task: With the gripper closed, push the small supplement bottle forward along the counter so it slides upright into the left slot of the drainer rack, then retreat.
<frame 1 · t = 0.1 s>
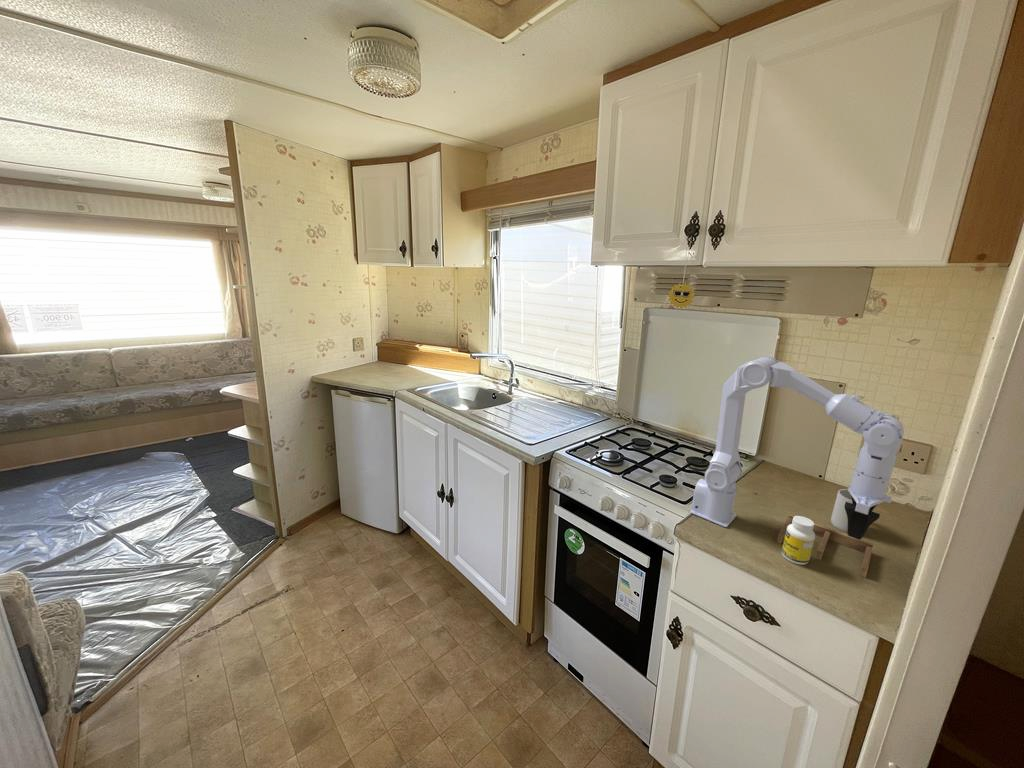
hand: (856, 529, 91), 10 cm above the countertop, fingers open, 7 cm apart
rack: (822, 547, 101), on the countertop
cup: (847, 525, 110), on the countertop
supplement bottle: (794, 558, 97), on the countertop
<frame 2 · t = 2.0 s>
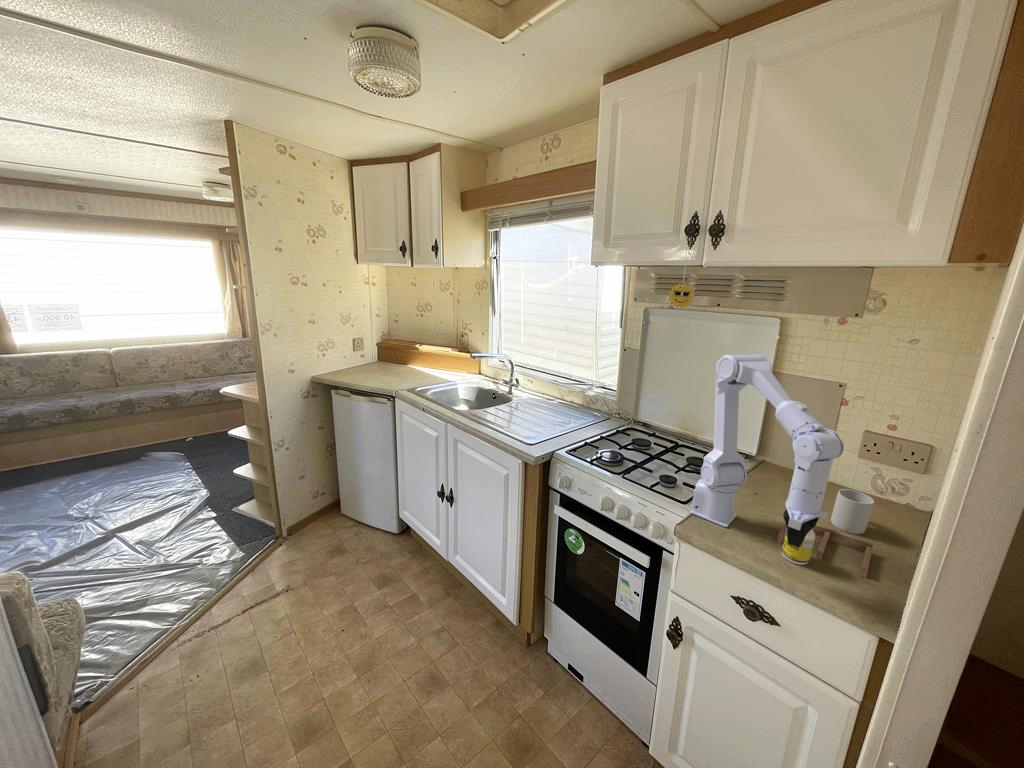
hand: (794, 544, 89), 8 cm above the countertop, fingers closed
nothing on the countertop moved.
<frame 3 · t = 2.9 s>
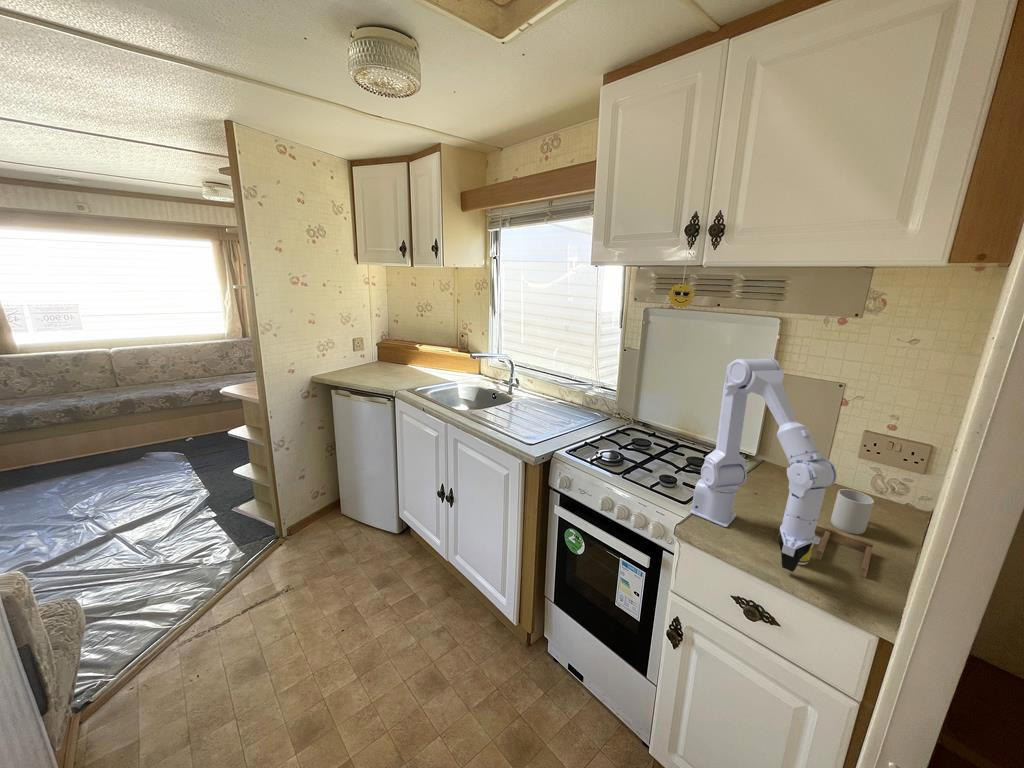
hand: (788, 568, 91), 1 cm above the countertop, fingers closed
nothing on the countertop moved.
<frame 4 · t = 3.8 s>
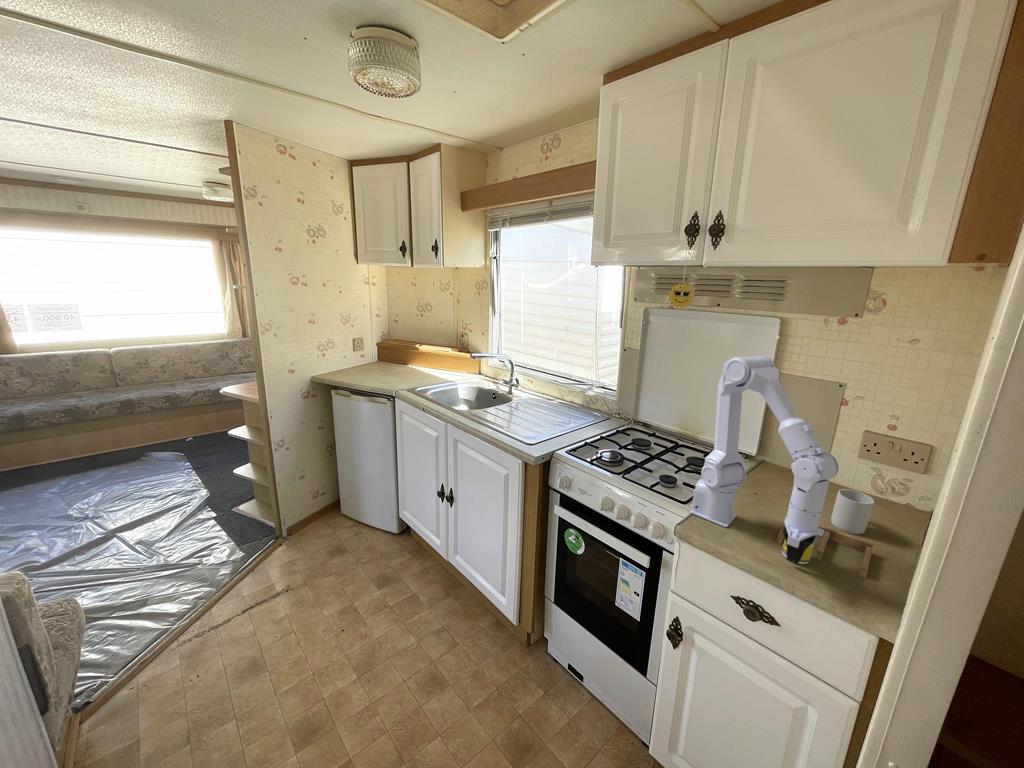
hand: (792, 560, 93), 2 cm above the countertop, fingers closed, pressing on supplement bottle
supplement bottle: (794, 558, 97), on the countertop, touching gripper
everything else where it was.
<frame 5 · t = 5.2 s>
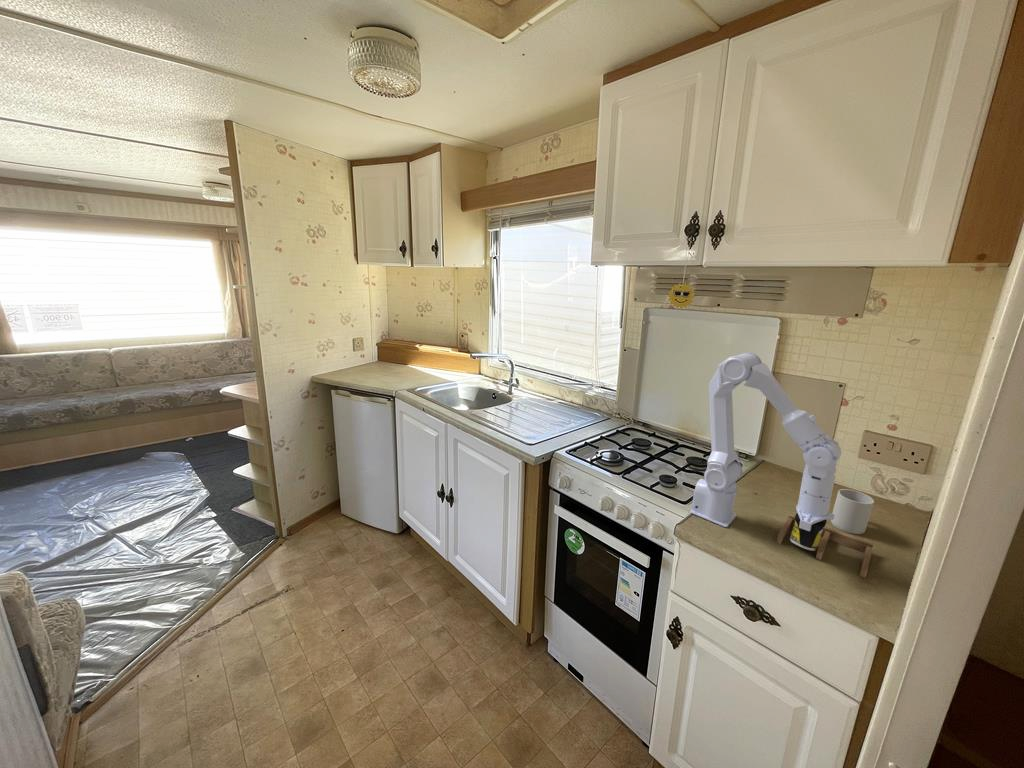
hand: (806, 545, 97), 2 cm above the countertop, fingers closed, pressing on supplement bottle
supplement bottle: (802, 546, 100), on the countertop, touching gripper
everything else where it was.
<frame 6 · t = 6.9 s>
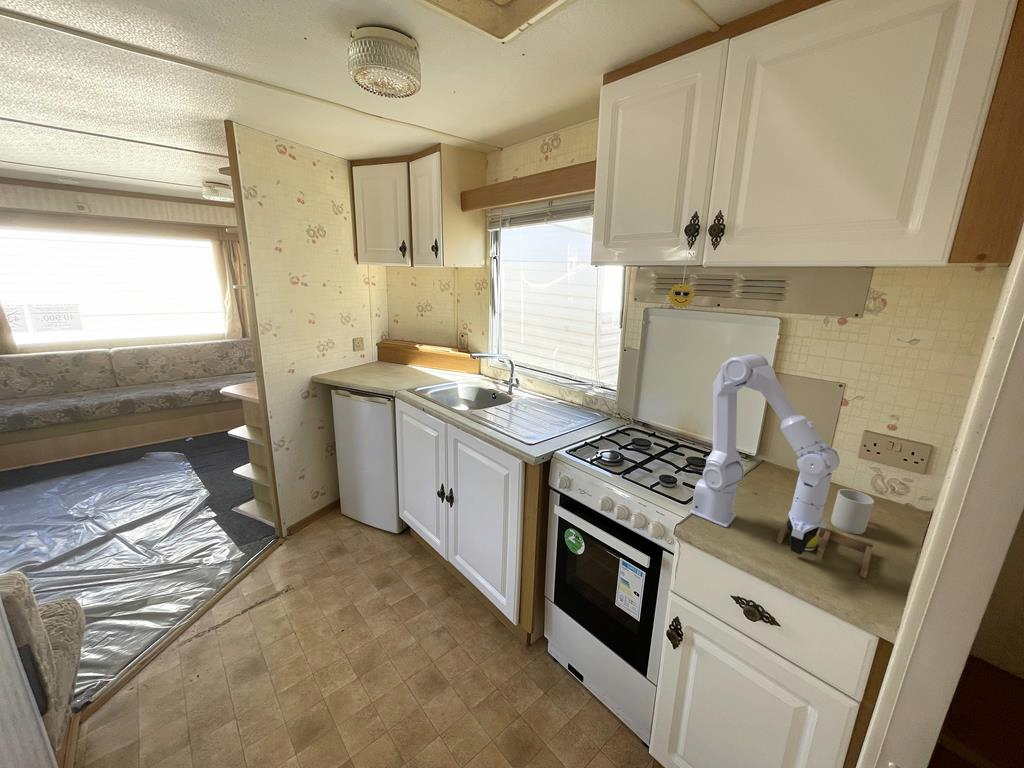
hand: (796, 551, 96), 1 cm above the countertop, fingers closed
supplement bottle: (802, 545, 101), on the countertop
everything else where it was.
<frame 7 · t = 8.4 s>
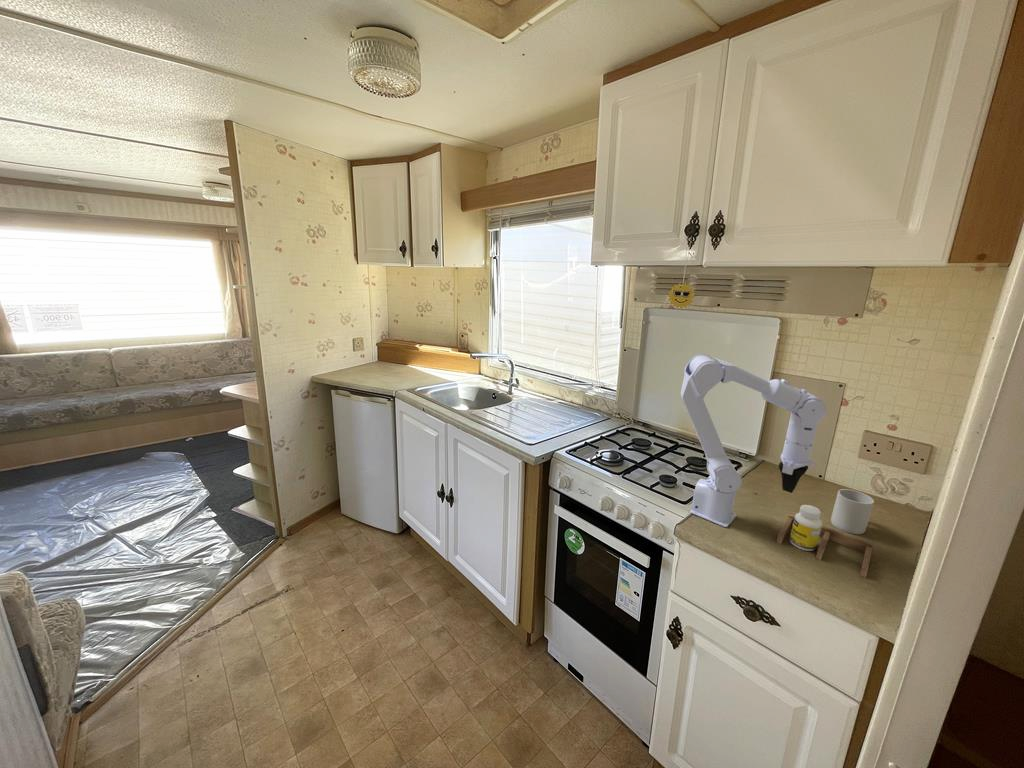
hand: (787, 490, 107), 10 cm above the countertop, fingers closed
nothing on the countertop moved.
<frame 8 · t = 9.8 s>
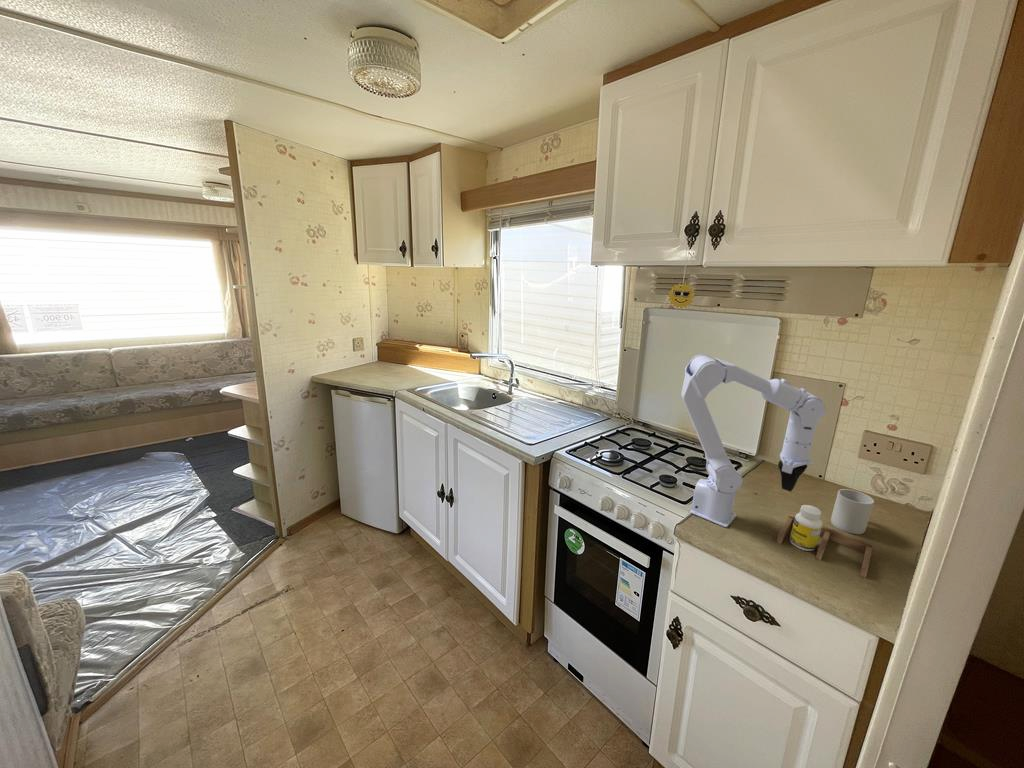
hand: (787, 489, 107), 10 cm above the countertop, fingers closed
nothing on the countertop moved.
at the end: supplement bottle inside the target area on the rack (2.7 cm from its centre), point 0.0 cm above the rack's base; supplement bottle tilted 1°; supplement bottle moved 7.1 cm from its start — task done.
